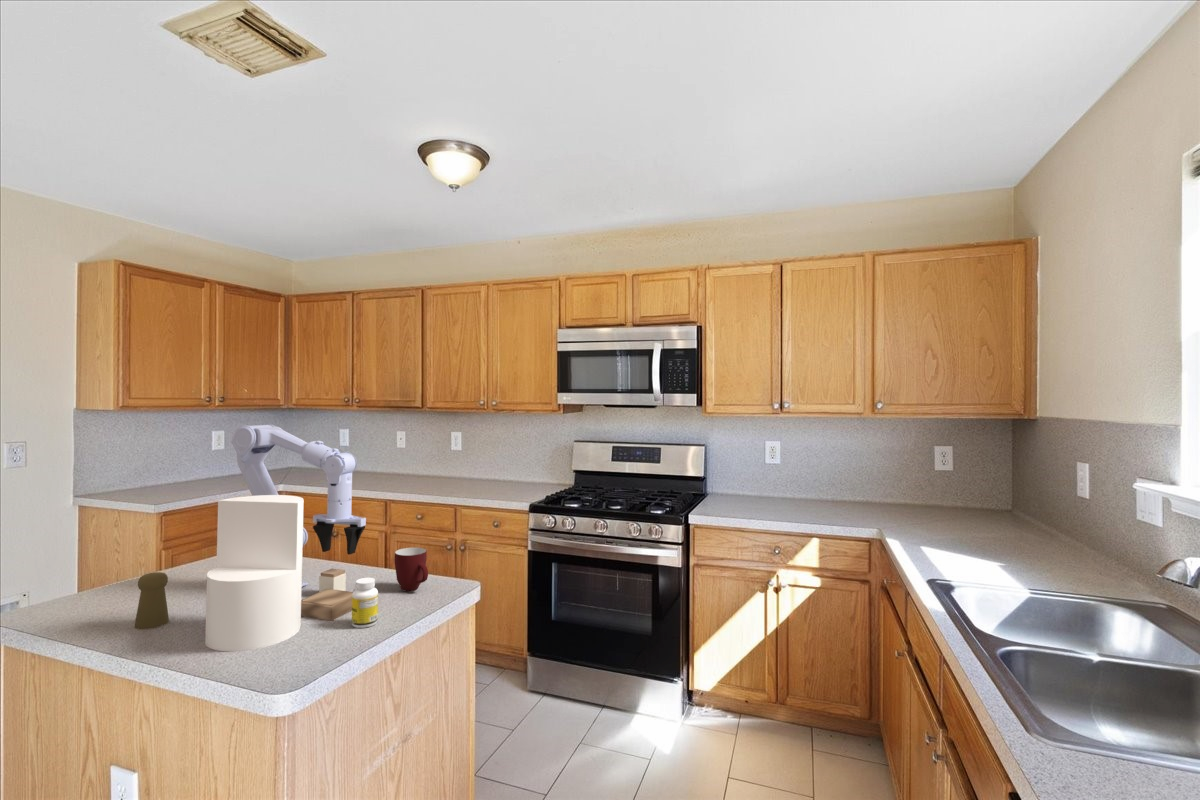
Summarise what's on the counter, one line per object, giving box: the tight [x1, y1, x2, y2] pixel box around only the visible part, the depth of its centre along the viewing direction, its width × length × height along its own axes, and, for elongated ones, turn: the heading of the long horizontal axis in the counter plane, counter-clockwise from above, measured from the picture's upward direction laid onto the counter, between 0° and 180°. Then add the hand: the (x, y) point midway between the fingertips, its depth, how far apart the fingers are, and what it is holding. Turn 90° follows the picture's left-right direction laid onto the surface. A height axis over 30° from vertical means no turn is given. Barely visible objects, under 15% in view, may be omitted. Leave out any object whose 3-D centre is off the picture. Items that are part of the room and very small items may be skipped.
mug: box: [393, 547, 429, 592], centre depth 150 cm, size 10×8×10 cm
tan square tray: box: [301, 589, 354, 622], centre depth 134 cm, size 10×10×3 cm
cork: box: [134, 571, 170, 630], centre depth 124 cm, size 6×6×11 cm
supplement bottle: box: [351, 577, 379, 629], centre depth 127 cm, size 5×5×10 cm
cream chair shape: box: [204, 494, 305, 652], centre depth 120 cm, size 17×17×28 cm
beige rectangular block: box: [318, 567, 347, 593], centre depth 145 cm, size 4×4×6 cm
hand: (338, 552), depth 146 cm, fingers open, 7 cm apart
